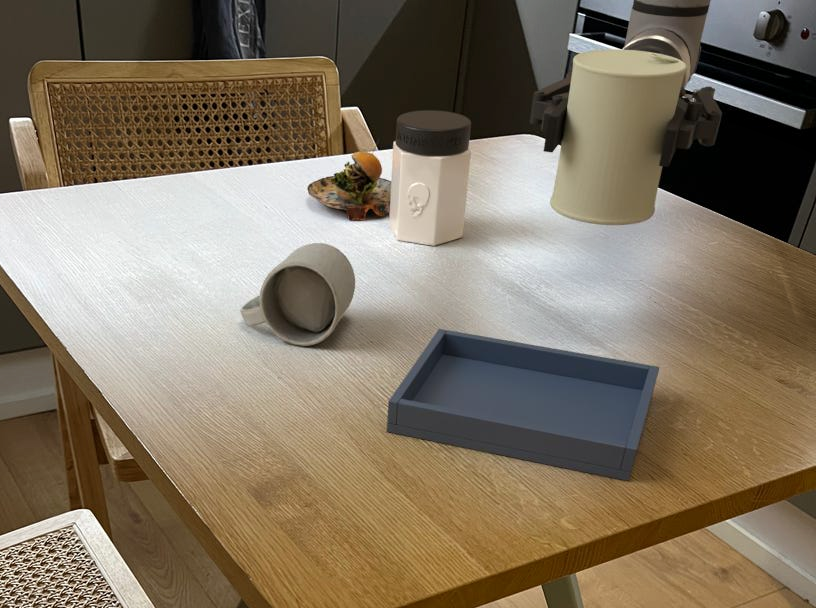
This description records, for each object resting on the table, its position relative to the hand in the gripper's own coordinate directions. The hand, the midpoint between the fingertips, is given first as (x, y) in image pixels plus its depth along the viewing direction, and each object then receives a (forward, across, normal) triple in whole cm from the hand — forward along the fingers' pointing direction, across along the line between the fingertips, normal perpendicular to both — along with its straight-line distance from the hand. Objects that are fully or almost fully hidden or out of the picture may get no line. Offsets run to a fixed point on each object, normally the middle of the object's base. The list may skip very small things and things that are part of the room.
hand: (608, 141), depth 79 cm
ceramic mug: (+6, +25, -18) cm, 32 cm away
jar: (-24, +22, -18) cm, 37 cm away
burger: (-30, +33, -18) cm, 48 cm away
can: (-5, 0, -7) cm, 8 cm away
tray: (+14, +1, -18) cm, 23 cm away
